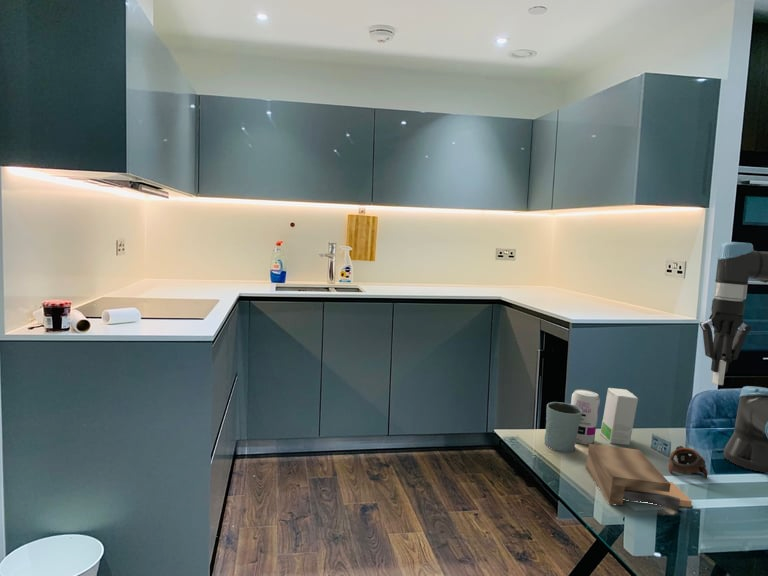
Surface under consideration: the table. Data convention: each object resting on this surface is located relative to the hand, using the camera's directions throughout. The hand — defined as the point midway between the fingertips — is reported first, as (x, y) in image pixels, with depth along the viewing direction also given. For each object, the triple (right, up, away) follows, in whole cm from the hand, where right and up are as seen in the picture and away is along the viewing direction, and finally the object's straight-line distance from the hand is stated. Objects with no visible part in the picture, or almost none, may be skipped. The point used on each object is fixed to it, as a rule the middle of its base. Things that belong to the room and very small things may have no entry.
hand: (717, 383), depth 150 cm
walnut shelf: (-30, -24, -13) cm, 41 cm away
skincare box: (-19, -22, +22) cm, 36 cm away
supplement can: (-31, -21, +19) cm, 42 cm away
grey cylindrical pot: (-40, -21, +12) cm, 47 cm away
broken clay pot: (-8, -25, +1) cm, 27 cm away
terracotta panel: (-26, -26, -14) cm, 39 cm away
